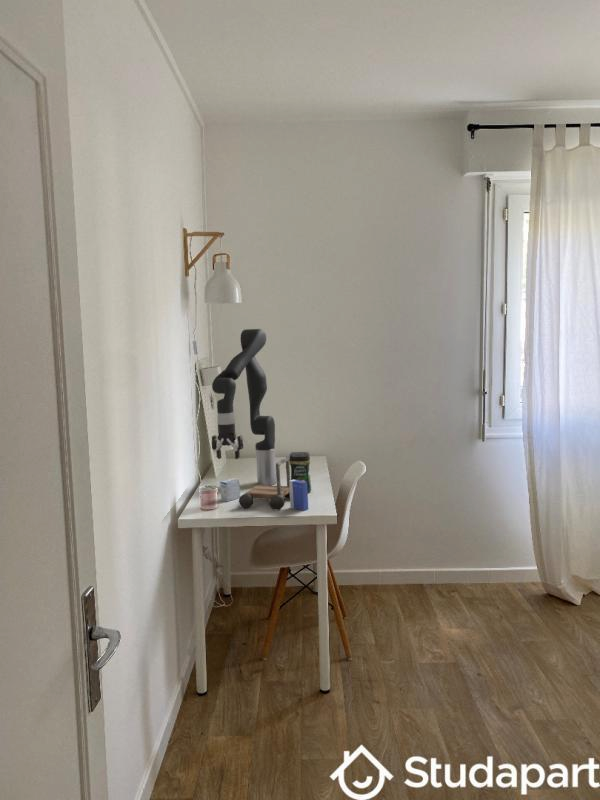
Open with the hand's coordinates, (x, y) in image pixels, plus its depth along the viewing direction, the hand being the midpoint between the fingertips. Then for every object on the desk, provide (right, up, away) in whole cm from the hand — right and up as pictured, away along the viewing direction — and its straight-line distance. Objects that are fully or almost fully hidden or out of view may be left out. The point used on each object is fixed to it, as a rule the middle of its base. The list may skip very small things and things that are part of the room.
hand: (228, 458), depth 290 cm
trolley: (+19, -19, -8) cm, 27 cm away
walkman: (+32, -19, -18) cm, 41 cm away
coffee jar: (+33, -16, +8) cm, 37 cm away
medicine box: (+1, -19, +2) cm, 19 cm away
